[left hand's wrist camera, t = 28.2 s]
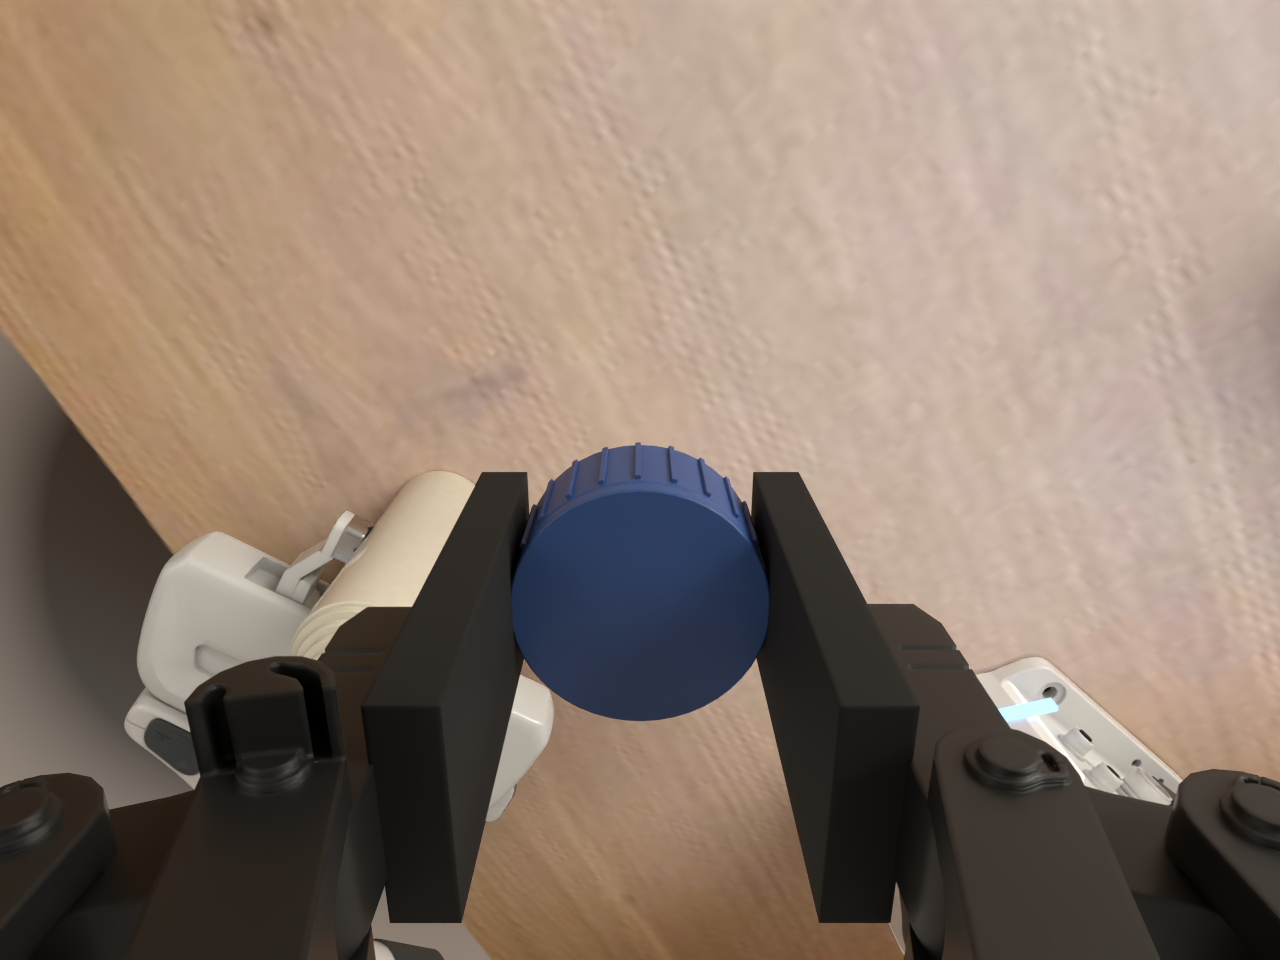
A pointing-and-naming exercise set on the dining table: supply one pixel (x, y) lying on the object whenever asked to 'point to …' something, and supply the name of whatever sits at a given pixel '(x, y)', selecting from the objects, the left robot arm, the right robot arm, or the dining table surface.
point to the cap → (640, 585)
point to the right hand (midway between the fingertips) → (420, 552)
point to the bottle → (388, 558)
